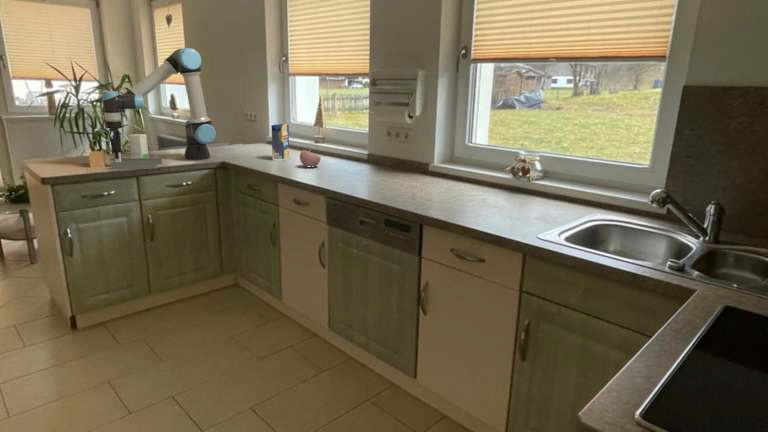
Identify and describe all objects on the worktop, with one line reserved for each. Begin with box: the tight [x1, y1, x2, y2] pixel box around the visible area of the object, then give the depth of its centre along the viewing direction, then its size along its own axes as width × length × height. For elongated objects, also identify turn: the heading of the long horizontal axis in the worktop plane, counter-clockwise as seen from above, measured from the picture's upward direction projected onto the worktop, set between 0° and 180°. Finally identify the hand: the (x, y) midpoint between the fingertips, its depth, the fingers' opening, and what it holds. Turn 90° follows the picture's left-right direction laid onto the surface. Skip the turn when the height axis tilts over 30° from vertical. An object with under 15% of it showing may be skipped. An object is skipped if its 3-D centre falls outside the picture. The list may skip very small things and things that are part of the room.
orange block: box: [88, 150, 107, 168], centre depth 259 cm, size 6×6×8 cm
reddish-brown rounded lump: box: [299, 147, 321, 168], centre depth 279 cm, size 12×12×12 cm
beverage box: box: [270, 123, 290, 159], centre depth 302 cm, size 7×11×22 cm, turn 169°
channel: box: [110, 157, 163, 170], centre depth 264 cm, size 22×15×3 cm
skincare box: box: [128, 133, 149, 158], centre depth 280 cm, size 8×7×16 cm
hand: (118, 164), depth 262 cm, fingers closed
